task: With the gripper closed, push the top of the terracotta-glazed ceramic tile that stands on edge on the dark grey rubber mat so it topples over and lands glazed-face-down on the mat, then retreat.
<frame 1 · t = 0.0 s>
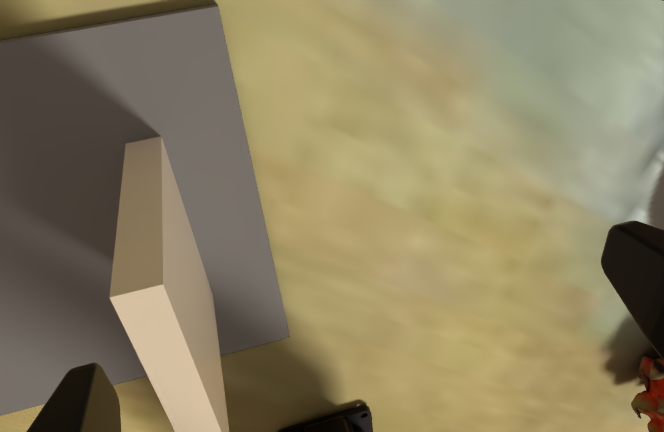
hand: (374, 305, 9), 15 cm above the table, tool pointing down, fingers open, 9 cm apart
dragon fruit: (660, 350, 43), on the table
mat: (83, 244, 24), on the table
tile: (174, 228, 24), resting on mat
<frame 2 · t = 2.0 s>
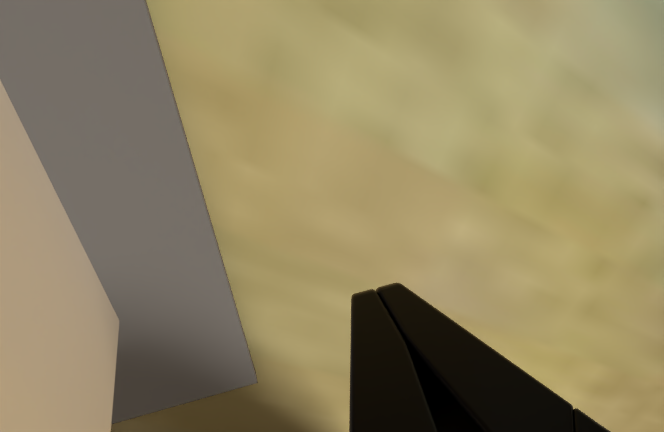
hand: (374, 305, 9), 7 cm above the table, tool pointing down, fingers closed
tile: (27, 201, 13), resting on mat
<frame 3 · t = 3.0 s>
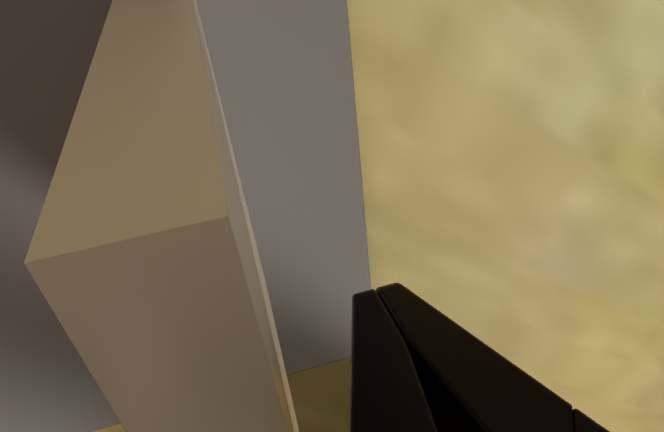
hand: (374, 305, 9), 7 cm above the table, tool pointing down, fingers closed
mat: (46, 191, 13), on the table
tile: (207, 164, 13), resting on mat
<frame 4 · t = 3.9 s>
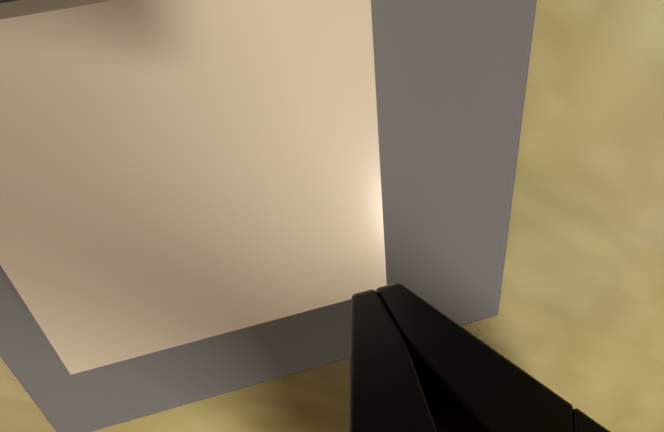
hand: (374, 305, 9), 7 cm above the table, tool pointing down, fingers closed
mat: (241, 149, 14), on the table
tile: (370, 144, 14), point 1 cm above the table, tilted 90°, touching mat
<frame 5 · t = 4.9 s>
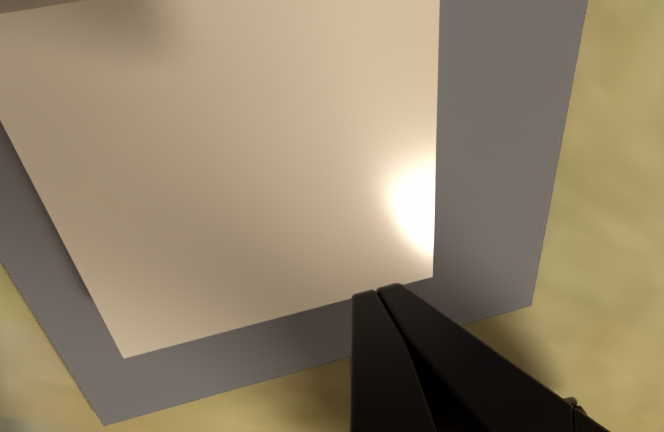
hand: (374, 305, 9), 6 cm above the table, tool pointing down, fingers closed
mat: (295, 136, 14), on the table
tile: (424, 131, 14), point 1 cm above the table, tilted 90°, touching mat
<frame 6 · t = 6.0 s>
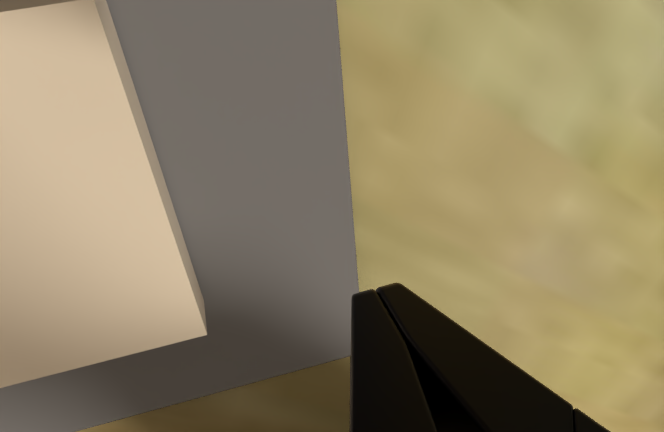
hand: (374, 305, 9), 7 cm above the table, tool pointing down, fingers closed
mat: (32, 189, 13), on the table
tile: (162, 187, 13), point 1 cm above the table, tilted 90°, touching mat
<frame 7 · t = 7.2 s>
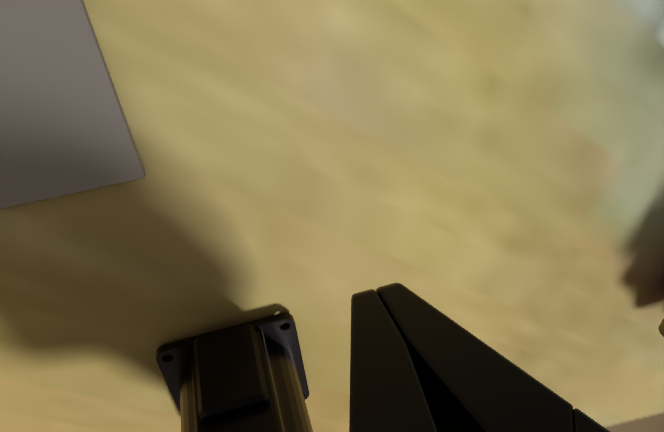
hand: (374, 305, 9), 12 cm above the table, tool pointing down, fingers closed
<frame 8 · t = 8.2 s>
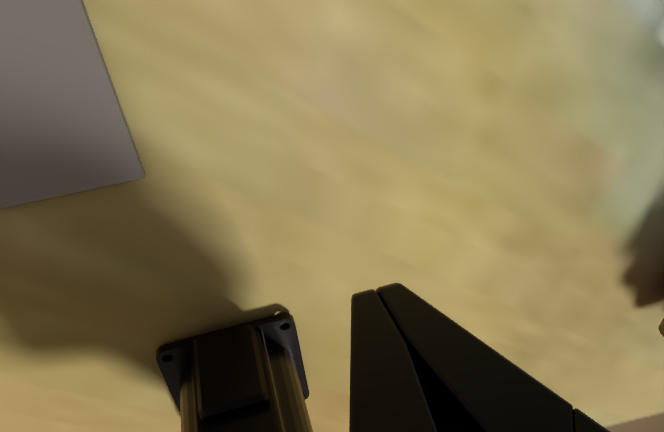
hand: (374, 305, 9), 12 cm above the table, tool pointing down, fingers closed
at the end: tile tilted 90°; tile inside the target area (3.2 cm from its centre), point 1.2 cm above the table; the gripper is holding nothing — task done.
